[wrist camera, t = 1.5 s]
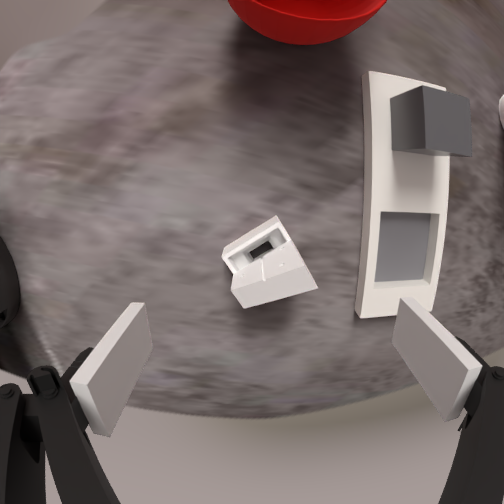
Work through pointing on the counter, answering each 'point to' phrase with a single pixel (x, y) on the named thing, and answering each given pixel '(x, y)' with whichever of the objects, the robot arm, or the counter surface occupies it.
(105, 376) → the robot arm
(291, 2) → the ceramic cup
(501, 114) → the foam cup
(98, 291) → the counter surface
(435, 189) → the white slotted base plate
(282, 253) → the white angled block
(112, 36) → the counter surface
